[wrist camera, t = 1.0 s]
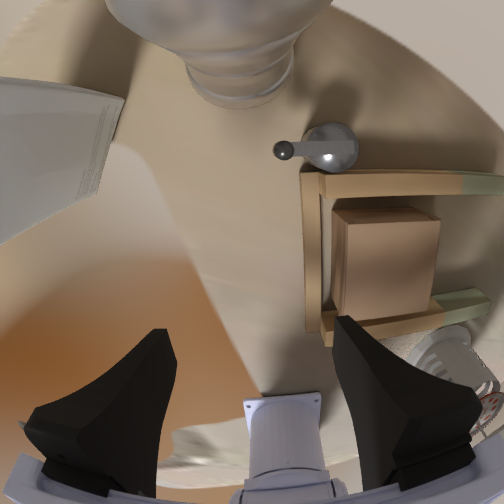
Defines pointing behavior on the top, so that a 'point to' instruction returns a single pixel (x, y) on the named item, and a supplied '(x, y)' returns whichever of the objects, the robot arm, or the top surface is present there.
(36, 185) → the skincare box
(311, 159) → the crank handle cylinder
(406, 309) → the box
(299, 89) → the top surface
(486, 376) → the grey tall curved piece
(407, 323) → the bay
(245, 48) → the silver metal bottle
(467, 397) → the robot arm
